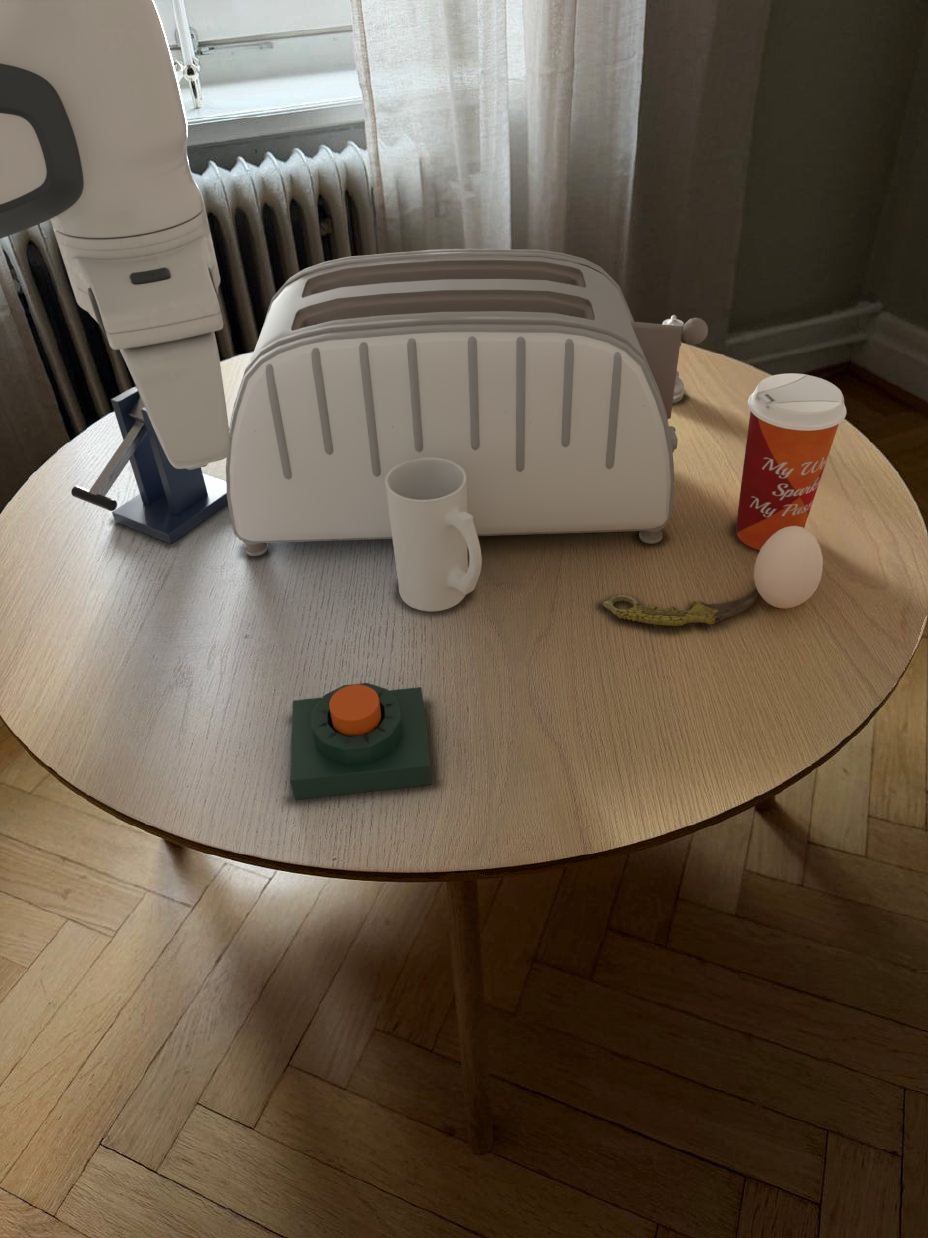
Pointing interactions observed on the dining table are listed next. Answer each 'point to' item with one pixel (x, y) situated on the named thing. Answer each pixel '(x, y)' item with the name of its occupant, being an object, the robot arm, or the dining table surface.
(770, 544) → the egg
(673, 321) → the chess piece
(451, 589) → the mug
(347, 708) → the button
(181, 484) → the bracket
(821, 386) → the coffee cup
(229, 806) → the dining table surface
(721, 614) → the knife
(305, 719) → the button box
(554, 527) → the toaster
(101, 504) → the lever
